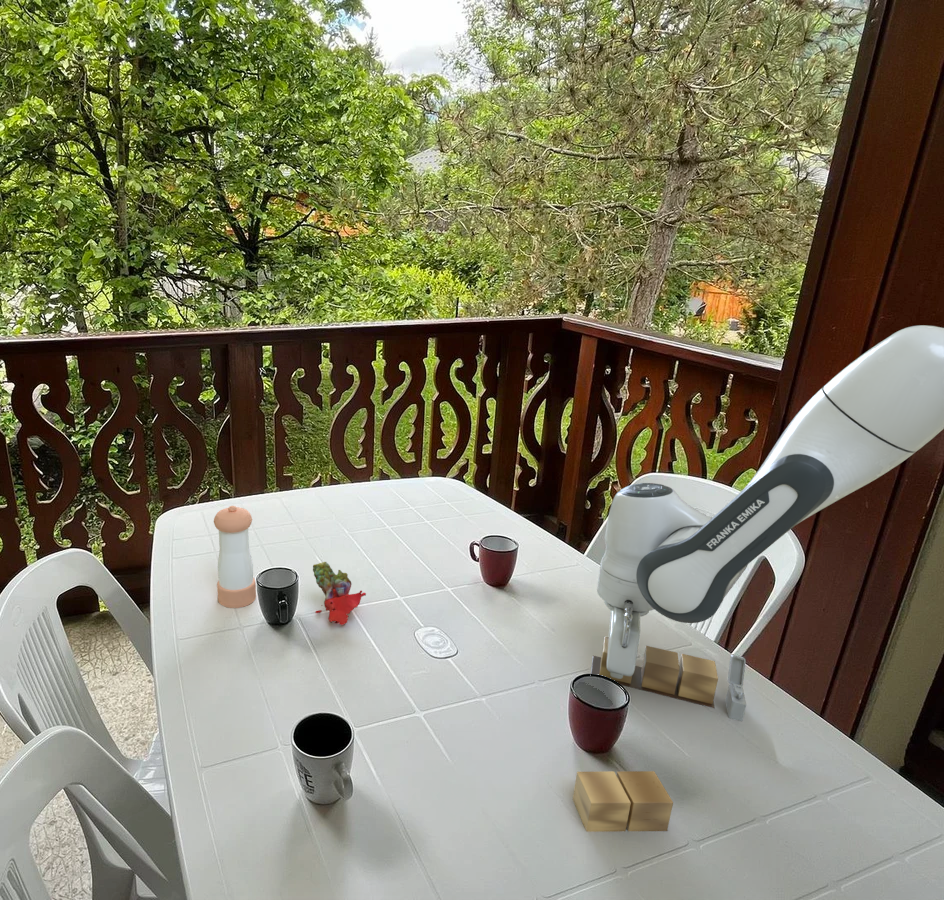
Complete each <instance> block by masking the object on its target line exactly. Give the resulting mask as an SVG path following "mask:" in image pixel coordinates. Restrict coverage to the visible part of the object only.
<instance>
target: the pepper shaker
mask: <svg viewBox="0 0 944 900" xmlns="http://www.w3.org/2000/svg"><path fill="white" fill-rule="evenodd" d="M252 522H253V517H252V514H251V513H250V511H249V510H247V509H246V508H244V507H239V506H236V505H230V506H228V507H225V508H223V509H220V510H218V512H217V513H216V514H215V515H214V518H213V525H214V527H215V528H216V529H217V530H218V544H219V551H218V560H217V575H218V580H217V583H216V587H217V588H216V591H217V601H218V603H219V604H220V605H221V606H223V607H224V608H230V609H239V608H244V607H247V606H249V605H251V604H253V603H254V602H255V601H256V598H257V585H256V579H255V577H254V562H253V558H252V553H251V548H250V534H249V533H250V532H249V528H250V527H251V525H252Z"/></svg>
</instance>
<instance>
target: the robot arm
mask: <svg viewBox="0 0 944 900" xmlns="http://www.w3.org/2000/svg"><path fill="white" fill-rule="evenodd" d="M943 430H944V327H942V326H941V327H940V326H936V325H924V324H923V325H920V324H919V325H912V326H908V327H904V328H902V329H900V330H898V331H896V332H894V333H892V334H891V335H889V336H888V337H886V338H885V339H883V340H882V341H880V342H878V343H877V344H875V345H874V346H873V347H870V348H869V349H868V350H867V351H865V352H864V353H862V354H861V355H860V356H859V357H857V358H855V360H853V361H852V362H850V363H849V364H848V365H847V366H846V367H844V368H843V369H842V370H840V371H839V372H838V373H837V374H836V375H835V376H834V377H832V378H831V379H830V380H829V381H828V382H826V384H825V385H823V386H822V387H821V388H820V389H819V390H818V391H816V393H815V394H814V395H812V397H811V398H810V399H809V400H808V401H807V402H806V403H805V404H804V405H803V406H802V408H800V410H799V411H798V412H797V413H796V414H795V416H794V417H793V418H792V419H791V420H790V423H789V424H788V425H787V427H786V428H784V431H783V432H782V433H781V435H780V436H779V438H778V439H777V441H776V443H775V444H774V445H773V447H772V449H771V450H770V452H769V453H768V455H767V457H766V458H765V460H764V461H763V463H762V464H761V466H760V467H759V469H758V470H757V472H756V473H755V474H754V475H753V476H752V478H751V480H749V482H748V483H747V484H746V485H745V487H744V488H743V489H742V490H740V492H739V493H738V494H737V495H736V496H735V497H733V499H731V500H730V501H729V502H728V503H727V504H726V505H725V506H724V507H722V508H721V509H720V510H719V511H718V512H717V513H716V514H715V515H714V516H712V517H710V516H708V515H706V514H704V513H703V512H701V511H699V510H697V509H696V508H694V507H693V506H691V505H690V504H689V503H687V502H685V501H684V500H683V499H682V498H681V497H680V496H679V494H678V493H677V492H676V491H675V490H674V488H672V487H670V486H667V485H664V484H662V483H654V482H640V483H633V484H630V485H627V486H625V487H623V488H621V489H620V490H619V491H617V492H616V494H615V495H614V497H613V499H612V501H611V505H610V508H609V512H608V517H607V521H606V525H605V531H604V543H605V551H604V554H603V555H602V557H601V560H600V566H599V573H598V579H597V586H596V592H597V595H598V596H599V597H600V598H601V599H602V600H603V603H604V605H605V606H606V607H607V608H608V609H609V610H610V612H609V625H608V636H607V637H608V650H607V670H608V671H610V676H611V677H614V678H618V679H622V678H623V675H624V676H632V675H633V674H634V671H635V666H637V664H636V663H637V658H638V653H639V652H638V651H639V646H640V639H641V617H644V616H647V615H648V614H649V613H650V611H654V610H655V612H657V613H658V614H661V615H662V616H663V617H666V618H668V619H670V620H672V621H674V622H675V621H676V622H679V623H684V624H697V623H702V622H706V621H707V620H709V619H710V618H712V617H713V616H714V615H715V614H716V612H717V611H718V609H720V607H721V605H722V603H723V601H724V599H725V597H726V596H727V595H728V593H729V592H730V591H731V590H732V588H733V587H734V585H735V584H736V583H737V582H738V581H739V579H740V577H741V576H742V575H743V574H744V572H745V571H746V569H747V568H748V565H749V564H750V563H751V562H752V561H754V560H755V559H756V558H757V557H759V556H760V555H761V554H763V553H764V552H765V551H766V550H767V549H769V548H770V547H771V546H772V545H773V544H775V542H777V541H778V540H780V539H781V538H782V537H783V536H784V535H785V534H787V533H788V532H789V531H790V530H793V528H794V527H795V526H797V525H798V524H800V523H801V522H803V521H805V520H806V519H808V518H810V517H811V516H814V515H815V514H816V513H818V512H820V511H822V510H823V509H825V508H827V507H829V506H830V505H832V504H835V502H838V501H840V500H841V499H843V498H845V497H846V496H848V495H850V494H852V493H853V492H855V491H858V490H859V489H861V488H863V487H865V486H867V485H869V484H870V483H871V482H874V481H875V480H877V479H879V478H880V477H882V476H883V475H885V474H886V473H888V472H890V471H891V470H892V469H894V468H896V467H898V466H899V465H901V464H902V463H903V462H904V461H906V460H907V459H908V458H910V457H911V456H913V455H914V454H915V453H916V452H917V451H918V452H919V450H920V449H922V448H923V447H924V446H925V445H927V444H928V443H929V442H930V441H931V440H933V439H934V438H935V437H936V436H937V435H938V434H939V433H941V432H942V431H943Z"/></svg>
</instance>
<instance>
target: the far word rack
mask: <svg viewBox="0 0 944 900" xmlns="http://www.w3.org/2000/svg"><path fill="white" fill-rule="evenodd" d="M642 659H643V660H642V664H641V666H639V665H635V671H634V674H633V675H632V680H631V684H629V683H625V682H621V681H617V680H615V681H616V682H618V683H619V684H620V686H624V687H628V688H632V689H635V690H639V691H643V692H648V693H650V694H651V693H652V694H655V695H660V696H664V697H667V698H671V699H676V700H680V701H683V702H687V703H692V704H696V705H699V706H703V707H707V708H710V709H716V708H715V702H714V701H715V700H714V699H715V695H716V690H717V685H718V681H719V677H718V669H717V666H716V660H712V659H707V658H704V657H698V656H693V655H690V654H685V653H681V654H680V659H679V653H678V652H676V651H672V650H669V649H663V648H659V647H654V646H650V645H645V648H644V653H643V657H642ZM600 663H601V656H598V655H597V656H596V655H592V660H591V668H590V675H591V674H599V675H600ZM612 680H613V679H612ZM619 684H618V685H619Z"/></svg>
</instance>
